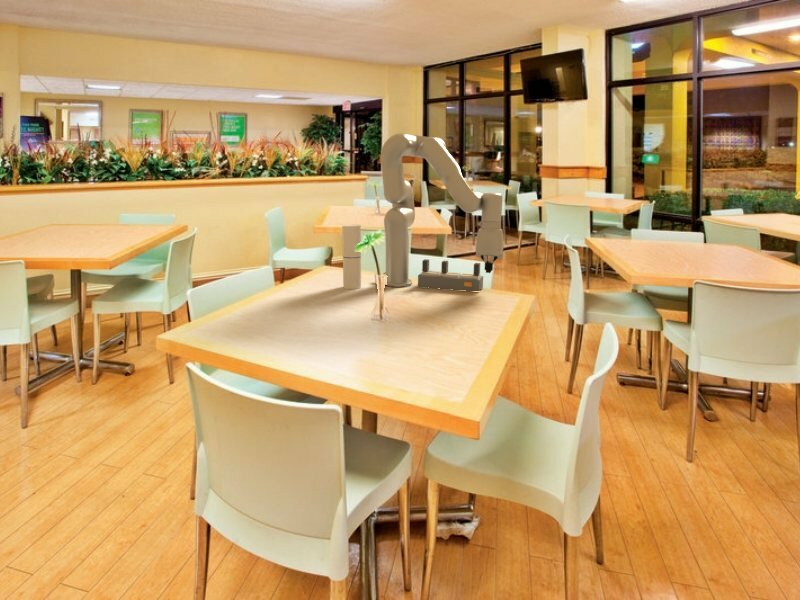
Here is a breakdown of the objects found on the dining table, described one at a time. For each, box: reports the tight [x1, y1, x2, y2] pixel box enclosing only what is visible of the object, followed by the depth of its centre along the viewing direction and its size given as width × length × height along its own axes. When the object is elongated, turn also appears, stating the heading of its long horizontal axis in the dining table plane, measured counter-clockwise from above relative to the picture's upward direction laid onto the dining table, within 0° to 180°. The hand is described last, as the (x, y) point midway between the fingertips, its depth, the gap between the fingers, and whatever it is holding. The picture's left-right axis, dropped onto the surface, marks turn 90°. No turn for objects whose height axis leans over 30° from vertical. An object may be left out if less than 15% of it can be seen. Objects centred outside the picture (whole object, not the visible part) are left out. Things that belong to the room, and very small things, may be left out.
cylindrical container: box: [341, 223, 362, 290], centre depth 217 cm, size 7×7×25 cm
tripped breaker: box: [473, 262, 481, 276], centre depth 215 cm, size 2×3×4 cm, turn 162°
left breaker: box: [421, 259, 430, 272], centre depth 222 cm, size 2×3×4 cm, turn 162°
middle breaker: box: [440, 260, 449, 273], centre depth 219 cm, size 2×3×4 cm, turn 161°
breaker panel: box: [417, 270, 484, 292], centre depth 220 cm, size 25×8×6 cm, turn 72°
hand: (488, 272), depth 214 cm, fingers closed
